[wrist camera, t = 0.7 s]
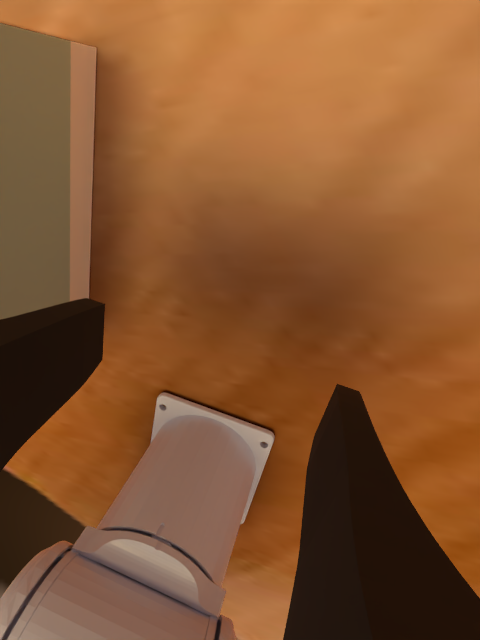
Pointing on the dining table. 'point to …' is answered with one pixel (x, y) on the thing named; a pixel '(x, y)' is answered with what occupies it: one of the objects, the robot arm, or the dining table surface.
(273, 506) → the dining table surface
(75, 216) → the cream piece
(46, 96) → the panel
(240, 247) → the dining table surface
